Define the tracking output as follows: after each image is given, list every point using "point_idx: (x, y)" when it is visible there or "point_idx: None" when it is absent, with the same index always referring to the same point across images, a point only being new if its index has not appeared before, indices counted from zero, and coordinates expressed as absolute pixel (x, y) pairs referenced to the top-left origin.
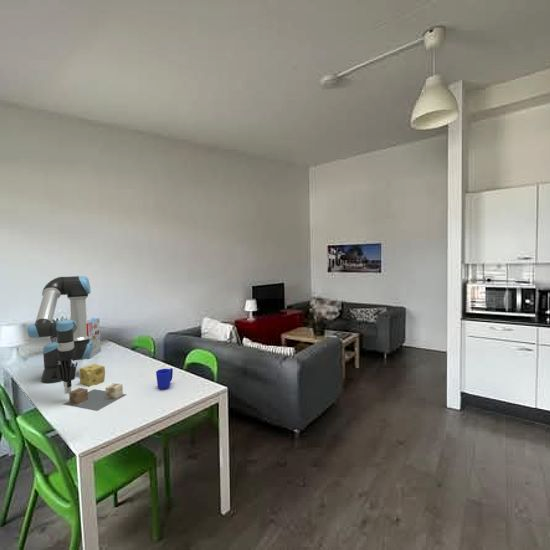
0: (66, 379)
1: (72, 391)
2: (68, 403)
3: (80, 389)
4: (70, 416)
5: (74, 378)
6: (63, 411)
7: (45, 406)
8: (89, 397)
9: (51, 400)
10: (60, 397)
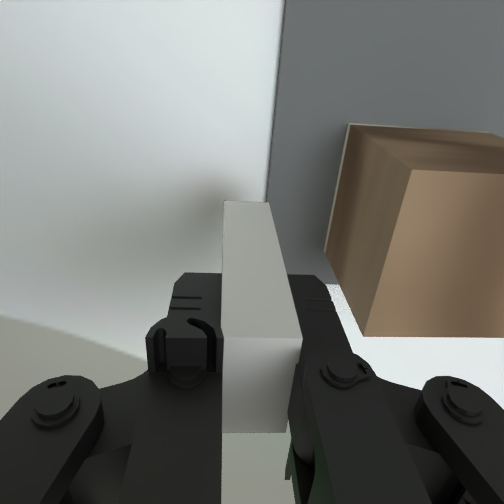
0: (303, 491)
1: (395, 307)
2: (313, 255)
3: (483, 221)
4: (481, 379)
5: (494, 402)
6: (373, 348)
7: (131, 332)
8: (462, 55)
9: (34, 231)
10: (42, 139)
